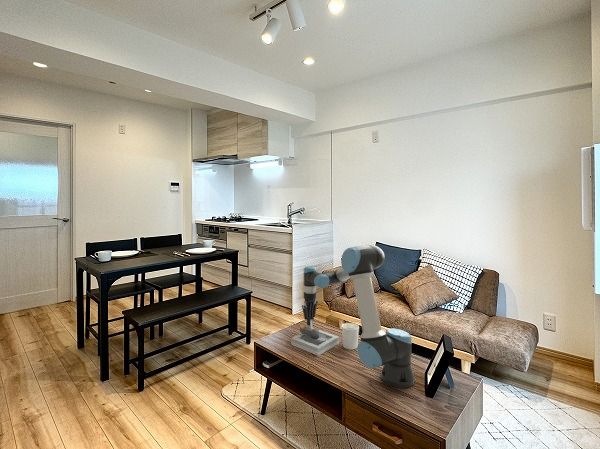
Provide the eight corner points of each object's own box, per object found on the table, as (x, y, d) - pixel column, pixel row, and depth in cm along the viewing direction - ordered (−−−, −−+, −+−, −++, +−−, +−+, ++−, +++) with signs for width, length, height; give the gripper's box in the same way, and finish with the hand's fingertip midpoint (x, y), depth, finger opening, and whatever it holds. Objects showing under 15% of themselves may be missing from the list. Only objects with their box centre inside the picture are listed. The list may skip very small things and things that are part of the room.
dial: (330, 339, 188) (330, 329, 187) (317, 347, 178) (317, 336, 177) (308, 331, 199) (308, 322, 199) (294, 338, 189) (294, 328, 189)
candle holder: (340, 348, 181) (340, 328, 180) (343, 341, 191) (343, 322, 190) (357, 351, 178) (357, 330, 177) (359, 343, 187) (360, 324, 187)
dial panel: (339, 343, 188) (339, 336, 188) (318, 355, 173) (318, 348, 173) (312, 333, 201) (312, 327, 201) (291, 344, 186) (291, 337, 186)
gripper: (311, 288, 200) (311, 325, 202) (298, 293, 190) (298, 331, 192) (321, 290, 195) (321, 328, 197) (307, 295, 185) (307, 334, 187)
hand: (309, 329), depth 195 cm, fingers closed
